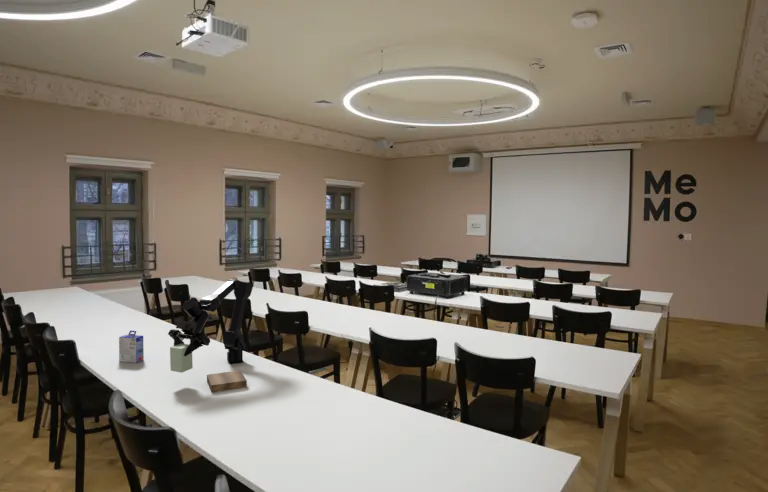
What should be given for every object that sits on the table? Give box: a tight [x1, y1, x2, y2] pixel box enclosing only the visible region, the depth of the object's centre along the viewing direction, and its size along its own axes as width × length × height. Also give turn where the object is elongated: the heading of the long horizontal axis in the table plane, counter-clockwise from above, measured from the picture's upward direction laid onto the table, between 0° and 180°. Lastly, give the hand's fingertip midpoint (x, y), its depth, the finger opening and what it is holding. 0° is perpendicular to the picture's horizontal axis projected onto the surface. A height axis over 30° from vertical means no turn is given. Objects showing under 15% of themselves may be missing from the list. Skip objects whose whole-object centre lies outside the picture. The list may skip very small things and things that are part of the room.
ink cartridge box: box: [118, 330, 145, 364], centre depth 232 cm, size 10×6×14 cm, turn 78°
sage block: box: [169, 343, 194, 374], centre depth 201 cm, size 6×6×10 cm
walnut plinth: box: [206, 369, 248, 394], centre depth 203 cm, size 14×14×3 cm
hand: (178, 354), depth 199 cm, fingers closed on sage block, 6 cm apart
